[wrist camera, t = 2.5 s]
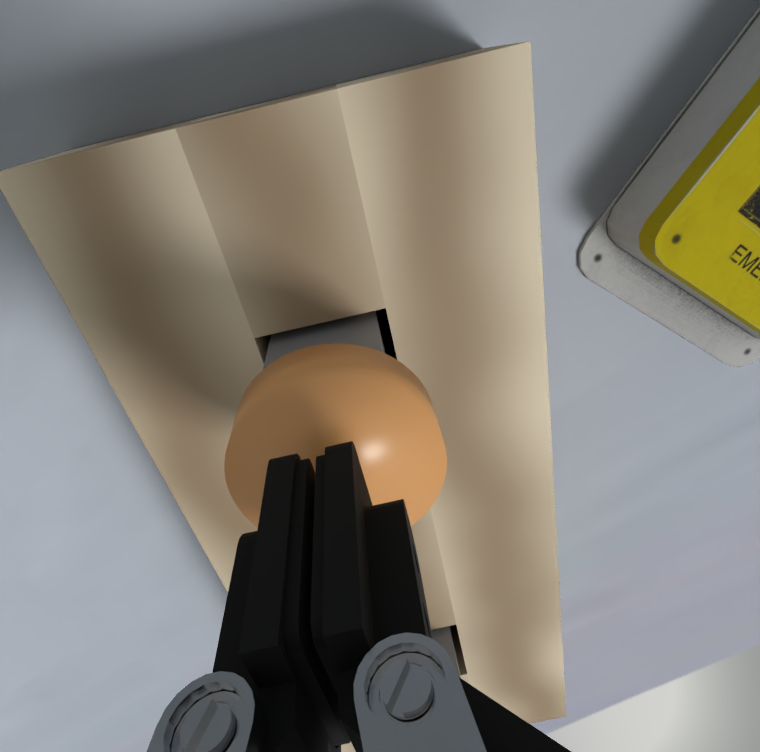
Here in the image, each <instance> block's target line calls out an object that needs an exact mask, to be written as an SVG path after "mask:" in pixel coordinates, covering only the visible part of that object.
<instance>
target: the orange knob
mask: <svg viewBox="0 0 760 752" xmlns="http://www.w3.org/2000/svg"><path fill="white" fill-rule="evenodd" d="M350 441H353V443H354V445H355V448H356V452H357V455H358V458H359V462H360V465H361V468H362V472H363V475H364V478H365V482H366V485H367V488H368V492H369V495H370V498H371V502H372V505H378V504H382V503H387V502H392V501H396V500H401V499H404V502H405V505H406V509H407V513H408V517H409V521H410V525H411V526H412V525H413V524H415V523H416V522H417V521H418V520H419V519H420V518H421V517H422V516H423V515H424V514H426V513H427V511H428V510H429V509H430V508H431V506H432V505H433V504H434V502H435V500H436V499H437V497H438V495H439V494H440V491H441V489H442V486H443V484H444V480H445V476H446V471H447V455H446V448H445V444H444V441H443V437H442V434H441V431H440V427H439V424H438V421H437V417H436V414H435V411H434V407H433V404H432V401H431V398H430V396H429V394H428V392H427V390H426V388H425V387H424V385H423V384H422V382H421V381H420V380H419V378H418V377H417V376H416V375H415V374H414V373H413V372H412V371H411V370H410V369H409V368H407V367H406V366H405V365H404V364H403V363H401V362H399V361H398V360H396V359H395V358H393V357H391V356H389V355H387V354H386V352H385V348H384V343H383V339H382V335H381V330H380V326H379V322H378V318H377V313H376V311H371V312H367V313H362V314H358V315H354V316H349V317H345V318H340V319H336V320H332V321H327V322H323V323H319V324H314V325H310V326H305V327H301V328H297V329H292V330H288V331H284V332H279V333H275V334H271V337H270V341H269V346H268V350H267V354H266V359H265V363H264V367H263V370H262V371H261V372H260V373H259V374H258V375H257V376H256V377H255V378H254V379H253V380H252V382H251V383H250V384H249V386H248V387H247V389H246V390H245V392H244V394H243V396H242V398H241V400H240V403H239V407H238V410H237V413H236V417H235V420H234V424H233V427H232V431H231V435H230V438H229V442H228V445H227V449H226V453H225V461H224V472H225V479H226V484H227V487H228V490H229V492H230V495H231V497H232V499H233V500H234V502H235V504H236V506H237V507H238V508H239V510H240V511H241V512H242V513H243V515H244V516H245V517H246V518H247V519H248V520H250V521H251V522H252V523H253V524H254V525H255V526H257V527H258V523H259V517H260V511H261V504H262V498H263V491H264V485H265V479H266V472H267V466H268V462H269V460H270V459H273V458H278V457H282V456H287V455H291V454H296V453H297V454H298V455H299V456H300V458H301V460H303V459H307V458H309V459H310V460H311V463H312V465H313V468H314V471H315V468H316V457H317V456H321V455H325V447H327V446H332V445H336V444H341V443H345V442H350Z"/></svg>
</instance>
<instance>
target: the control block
mask: <svg viewBox="0 0 760 752" xmlns="http://www.w3.org/2000/svg"><path fill="white" fill-rule="evenodd" d="M0 189H1V191H2V193H3V194H4V196H5V198H6V200H7V202H8V203H9V205H10V207H11V209H12V210H13V212H14V214H15V216H16V218H17V219H18V221H19V223H20V225H21V226H22V228H23V230H24V232H25V234H26V235H27V237H28V239H29V241H30V242H31V244H32V246H33V248H34V250H35V251H36V253H37V255H38V257H39V258H40V260H41V262H42V264H43V265H44V267H45V269H46V271H47V273H48V274H49V276H50V278H51V280H52V281H53V283H54V285H55V287H56V289H57V290H58V292H59V294H60V296H61V297H62V299H63V301H64V303H65V305H66V306H67V308H68V310H69V312H70V313H71V315H72V317H73V319H74V320H75V322H76V324H77V326H78V328H79V329H80V331H81V333H82V335H83V336H84V338H85V340H86V342H87V344H88V345H89V347H90V349H91V351H92V352H93V354H94V356H95V358H96V360H97V361H98V363H99V365H100V367H101V368H102V370H103V372H104V374H105V376H106V377H107V379H108V381H109V383H110V384H111V386H112V388H113V390H114V391H115V393H116V395H117V397H118V399H119V400H120V402H121V404H122V406H123V407H124V409H125V411H126V413H127V415H128V416H129V418H130V420H131V422H132V423H133V425H134V427H135V429H136V431H137V432H138V434H139V436H140V438H141V439H142V441H143V443H144V445H145V447H146V448H147V450H148V452H149V454H150V455H151V457H152V459H153V461H154V462H155V464H156V466H157V468H158V470H159V471H160V473H161V475H162V477H163V478H164V480H165V482H166V484H167V486H168V487H169V489H170V491H171V493H172V494H173V496H174V498H175V500H176V502H177V503H178V505H179V507H180V509H181V510H182V512H183V514H184V516H185V517H186V519H187V521H188V523H189V525H190V526H191V528H192V530H193V532H194V533H195V535H196V537H197V539H198V541H199V542H200V544H201V546H202V548H203V549H204V551H205V553H206V555H207V557H208V558H209V560H210V562H211V564H212V565H213V567H214V569H215V571H216V573H217V574H218V576H219V578H220V580H221V581H222V583H223V585H224V587H225V588H226V590H227V592H228V591H229V586H230V580H231V575H232V570H233V565H234V560H235V555H236V549H237V545H238V541H239V538H240V537H241V535H242V534H245V533H249V532H254V531H257V530H258V527H257V526H255V525H254V524H253V523H252V522H251V521H250V520H248V519H247V518H246V517H245V516H244V515H243V513H242V512H241V511H240V510H239V508H238V507H237V506H236V504H235V502H234V500H233V499H232V497H231V495H230V492H229V490H228V487H227V484H226V479H225V472H224V461H225V453H226V449H227V445H228V442H229V438H230V435H231V431H232V427H233V424H234V420H235V417H236V413H237V410H238V407H239V403H240V400H241V398H242V396H243V394H244V392H245V390H246V389H247V387H248V386H249V384H250V383H251V382H252V380H253V379H254V378H255V377H256V376H257V375H258V374H259V373H260V372H261V371H262V370H263V367H264V363H265V359H266V354H267V350H268V346H269V341H270V337H271V334H275V333H279V332H284V331H288V330H292V329H297V328H301V327H305V326H310V325H314V324H319V323H323V322H327V321H332V320H336V319H340V318H345V317H349V316H354V315H358V314H362V313H367V312H371V311H376V310H380V309H384V308H386V312H387V316H388V321H389V325H390V330H391V334H392V339H393V343H394V348H395V352H396V355H391V357H393V358H395V359H396V360H398V361H399V362H401V363H403V364H404V365H405V366H406V367H407V368H409V369H410V370H411V371H412V372H413V373H414V374H415V375H416V376H417V377H418V378H419V380H420V381H421V382H422V384H423V385H424V387H425V388H426V390H427V392H428V394H429V396H430V398H431V401H432V404H433V407H434V411H435V414H436V417H437V421H438V424H439V427H440V431H441V434H442V437H443V441H444V444H445V448H446V455H447V471H446V476H445V480H444V484H443V486H442V489H441V491H440V494H439V495H438V497H437V499H436V500H435V502H434V504H433V505H432V506H431V508H430V509H429V510H428V511H427V513H426V514H424V515H423V516H422V517H421V518H420V519H419V520H418V521H417V522H416V523H415V524H413V525H412V526H411V529H412V533H413V538H414V542H415V547H416V551H417V556H418V561H419V566H420V572H421V577H422V583H423V588H424V594H425V599H426V605H427V610H428V616H429V621H430V627H431V630H432V629H437V628H442V627H447V626H450V629H451V634H452V638H453V642H454V647H455V652H456V657H457V661H458V666H459V671H460V675H461V679H463V680H464V681H466V682H467V683H469V684H470V685H472V686H473V687H475V688H476V689H478V690H479V691H481V692H482V693H484V694H485V695H487V696H488V697H490V698H491V699H493V700H494V701H496V702H497V703H499V704H500V705H502V706H503V707H505V708H506V709H508V710H509V711H511V712H512V713H514V714H515V715H517V716H518V717H520V718H521V719H523V720H524V721H526V722H527V723H535V722H540V721H545V720H550V719H555V718H560V717H565V716H566V702H565V683H564V665H563V646H562V627H561V608H560V589H559V570H558V552H557V533H556V514H555V495H554V476H553V457H552V439H551V420H550V401H549V382H548V363H547V344H546V326H545V307H544V288H543V269H542V250H541V231H540V213H539V194H538V175H537V156H536V137H535V118H534V100H533V81H532V62H531V43H530V41H529V42H522V43H515V44H509V45H502V46H495V47H488V48H482V49H478V50H474V51H470V52H466V53H462V54H458V55H454V56H450V57H446V58H442V59H438V60H434V61H430V62H425V63H421V64H417V65H413V66H409V67H405V68H401V69H397V70H393V71H389V72H385V73H381V74H377V75H373V76H369V77H365V78H360V79H356V80H352V81H348V82H344V83H340V84H336V85H332V86H328V87H324V88H320V89H316V90H312V91H308V92H304V93H299V94H295V95H291V96H287V97H283V98H279V99H275V100H271V101H267V102H263V103H259V104H255V105H251V106H247V107H243V108H239V109H234V110H230V111H226V112H222V113H218V114H214V115H210V116H206V117H202V118H198V119H194V120H190V121H186V122H182V123H178V124H173V125H169V126H165V127H161V128H157V129H153V130H149V131H145V132H141V133H137V134H133V135H129V136H125V137H121V138H117V139H112V140H108V141H104V142H100V143H96V144H92V145H88V146H84V147H80V148H76V149H72V150H68V151H65V152H62V153H58V154H55V155H52V156H48V157H45V158H42V159H38V160H35V161H32V162H28V163H25V164H22V165H18V166H15V167H12V168H9V169H5V170H2V171H0ZM341 752H356V751H355V749H354V747H353V745H352V743H351V741H350V743H348V744H343V745H341Z"/></svg>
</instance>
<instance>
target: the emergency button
mask: <svg viewBox="0 0 760 752" xmlns="http://www.w3.org/2000/svg"><path fill="white" fill-rule="evenodd" d="M578 267H579V268H580V270H581V271H582V272H583V274H584V275H585V277H587V278H588V279H590V280H591V281H593V282H595V283H596V284H598V285H599V286H601V287H603V288H604V289H606V290H608V291H609V292H611V293H612V294H614V295H616V296H617V297H619V298H620V299H622V300H624V301H625V302H627V303H628V304H630V305H632V306H633V307H635V308H637V309H638V310H640V311H641V312H643V313H645V314H646V315H648V316H649V317H651V318H653V319H654V320H656V321H657V322H659V323H661V324H662V325H664V326H666V327H667V328H669V329H670V330H672V331H674V332H675V333H677V334H678V335H680V336H682V337H683V338H685V339H686V340H688V341H690V342H691V343H693V344H695V345H696V346H698V347H699V348H701V349H703V350H704V351H706V352H707V353H709V354H711V355H712V356H714V357H715V358H717V359H719V360H720V361H722V362H724V363H725V364H727V365H729V366H734V367H742V366H745V365H748V364H751V363H753V362H755V361H756V360H757V359H759V358H760V6H759V8H758V9H757V10H756V12H755V13H754V14H753V16H752V17H751V18H750V20H749V21H748V22H747V24H746V25H745V26H744V27H743V29H742V30H741V31H740V33H739V34H738V35H737V37H736V38H735V39H734V41H733V42H732V43H731V45H730V46H729V47H728V49H727V50H726V51H725V53H724V54H723V55H722V57H721V58H720V59H719V61H718V62H717V63H716V65H715V66H714V67H713V69H712V70H711V71H710V73H709V74H708V75H707V77H706V78H705V79H704V81H703V82H702V83H701V85H700V86H699V87H698V89H697V90H696V91H695V92H694V94H693V95H692V96H691V98H690V99H689V100H688V102H687V103H686V104H685V106H684V107H683V108H682V110H681V111H680V112H679V114H678V115H677V116H676V118H675V119H674V120H673V122H672V123H671V124H670V126H669V127H668V128H667V130H666V131H665V132H664V134H663V135H662V136H661V138H660V139H659V140H658V142H657V143H656V144H655V146H654V147H653V148H652V150H651V151H650V152H649V154H648V155H647V156H646V158H645V159H644V160H643V161H642V163H641V164H640V165H639V167H638V168H637V169H636V171H635V172H634V173H633V175H632V176H631V177H630V179H629V180H628V181H627V183H626V184H625V185H624V187H623V188H622V189H621V191H620V192H619V193H618V195H617V196H616V197H615V199H614V200H613V201H612V203H611V204H610V205H609V207H608V208H607V209H606V211H605V212H604V213H603V215H602V216H601V217H600V219H599V220H598V221H597V223H596V224H595V225H594V227H593V228H592V229H591V230H590V232H589V233H588V234H587V236H586V238H585V240H584V242H583V244H582V246H581V248H580V250H579V253H578Z"/></svg>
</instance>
